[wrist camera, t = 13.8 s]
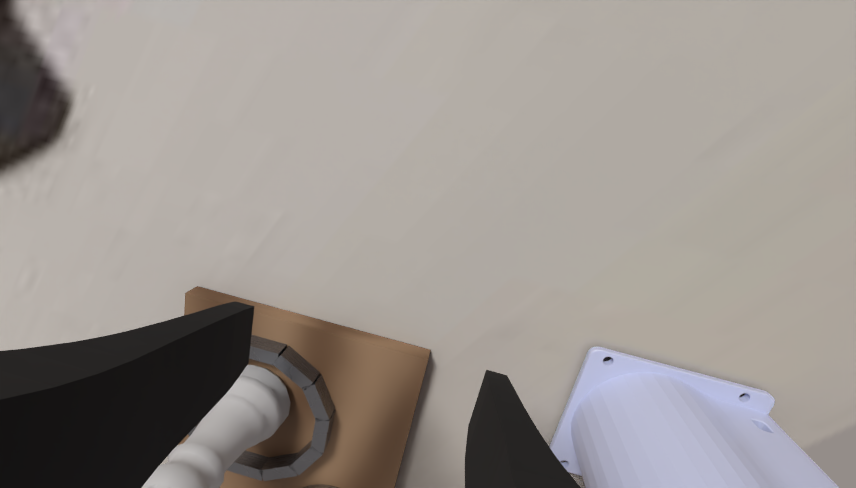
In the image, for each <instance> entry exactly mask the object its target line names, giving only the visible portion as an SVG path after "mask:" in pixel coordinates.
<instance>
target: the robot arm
mask: <svg viewBox="0 0 856 488" xmlns="http://www.w3.org/2000/svg"><path fill="white" fill-rule="evenodd" d="M254 307H255V306H251V305H247V304H244V303H240V302H237V301H235V302H230V303H226V304H222V305H218V306H215V307H211V308H208V309H205V310H201V311H198V312H195V313H191V314H188V315H185V316H181V317H178V318H175V319H171V320H168V321H164V322H161V323H157V324H153V325H149V326H145V327H142V328H138V329H134V330H130V331H126V332H122V333H118V334H113V335H108V336H104V337H98V338H93V339H88V340H83V341H77V342H71V343H63V344H56V345H49V346H42V347H34V348H27V349H18V350H8V351H0V488H142V486H143V485H144V484H145V483H146V481H147V480H148V479H149V477H150V476H151V475H152V474H153V472H154V471H155V470H156V469H157V467H158V466H159V465H160V464H161V463H162V462H163V460H164V459H165V458H166V457H167V456H168V455H169V454H170V452H171V451H172V450H173V449H174V448H175V447H176V446H177V445H178V444H179V443H180V442H181V441H182V440H183V439H184V438H185V437H186V436H187V435H188V434H189V432H190V431H191V430H192V429H193V428H194V427H195V426H196V425H197V424H198V423H199V422H200V421H201V420H202V419H203V418H204V417H205V416H206V415H207V414H208V413H209V411H210V410H211V409H212V408H213V407H214V406H215V405H216V404H217V403H218V402H219V401H220V400H221V399H222V398H223V396H224V395H225V394H226V393H227V392H228V391H229V390H230V388H231V387H232V386H233V384H234V383H235V382H236V380H237V379H238V378H239V376H240V375H241V373H242V372H243V370H244V369H245V368H246V366H247V365H248V363H249V354H250V344H251V335H252V325H253V316H254ZM605 357H611V359H610V360H609V361H603V359H604V358H605ZM743 393H745V395H744V396H742V397H739V396H740V395H741V394H743ZM774 403H775V400H774V398H773V397H772V396H771V395H770V394H769V393H768V392H766V391H764V390H760V389H756V388H753V387H749V386H745V385H741V384H738V383H734V382H730V381H726V380H723V379H719V378H715V377H711V376H708V375H704V374H700V373H696V372H693V371H689V370H685V369H681V368H678V367H674V366H670V365H666V364H663V363H659V362H655V361H651V360H648V359H644V358H640V357H636V356H633V355H629V354H625V353H621V352H618V351H614V350H610V349H606V348H603V347H592V348H591V349H589V351H588V352H587V355H586V357H585V360H584V362H583V365H582V367H581V369H580V372H579V374H578V377H577V379H576V382H575V384H574V387H573V389H572V392H571V394H570V397H569V399H568V402H567V404H566V407H565V409H564V412H563V414H562V417H561V419H560V422H559V424H558V426H557V429H556V431H555V434H554V436H553V439H552V441H551V444H550V446H548V445H547V443H546V442H545V440H544V439H543V437H542V436H541V434H540V433H539V431H538V430H537V428H536V426H535V425H534V423H533V421H532V420H531V418H530V416H529V415H528V413H527V411H526V409H525V408H524V406H523V404H522V402H521V401H520V399H519V397H518V395H517V393H516V391H515V389H514V388H513V386H512V384H511V382H510V380H509V379H508V377H507V375H503V374H500V373H496V372H492V371H489V370H486V373H485V376H484V379H483V382H482V385H481V388H480V392H479V395H478V398H477V401H476V404H475V407H474V410H473V413H472V417H471V420H470V423H469V427H468V435H467V444H466V454H465V488H580V486H579V485H578V484H577V483H576V482H575V480H574V479H573V478H572V477H571V475H570V474H569V473H568V472H570V473H573V474H577V475H580V476H582V477H583V481H584V484H585V488H839V487H838V486H837V485H836V484H835V483H834V482H833V481H832V480H831V479H830V478H829V477H828V476H827V475H826V474H825V472H824V471H822V469H821V468H820V467H819V466H818V465H817V464H816V463H815V462H814V461H813V460H812V459H811V458H810V457H809V456H808V455H807V454H806V453H805V452H804V451H803V450H802V449H801V448H800V447H799V446H798V445H797V444H796V443H795V442H794V441H793V440H792V439H791V438H790V437H789V436H788V435H787V434H786V433H785V431H784V430H783V429H782V428H781V427H780V426H779V425H778V424H777V423H776V422H775V421H774V420H773V419H772V418H771V417H770V416H769V415H768V414H769V412H770V411H771V409H772V407H773V406H774ZM563 460H565V461H566V462H561V461H563Z"/></svg>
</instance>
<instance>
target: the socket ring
mask: <svg viewBox="0 0 856 488" xmlns="http://www.w3.org/2000/svg"><path fill="white" fill-rule="evenodd" d="M249 359H252V360H256V361H259V362H263V363H267V364H270V365H274V366H275V367H276V368H278V369H279V370H280V371H281V372H282V373H284V374H285V375H286V376H287V377H288V378H289V379H291V380H292V381H293V382H294V383H295V384H297V385H298V386H299V387H300V388H301V389H302V390H303V392H304V394H305V397H306V399H307V401H308V404H309V406H310V408H311V410H312V413H313V415H314V417H315V425H314V431H313V437H312V440H311V441H310V442H309V443H308V444H307V445H306V446H304V447H303V448H302V449H301V450H300V451H299V452H298V453H292V454H286V455H280V456H274V457H266V456H263V455H260V454H256V453H253V452H249V451H246V450H245V451H244V452H243V453H242V454H241V455H240V456H239V457H238V458H237V459H236V460H235V461H234V462H233V464H232V465H231V466H230V467H229V468H228V469H227V471H230V472H233V473H237V474H240V475H243V476H247V477H250V478H254V479H257V480H260V481H262V480H264V481H268V480H275V479H282V478H288V477H295V476H298V475H300V474H301V473H303V472H304V471H305V470H306V469H307V468H308V467H309V466H311V465H312V464H313V463H314V462H315V461H316V460H317V459H318V458H320V457H321V456H322V455H323V453H324V451H325V449H326V447H327V445H328V443H329V441H330V436H331V431H332V426H333V421H334V415H335V405H334V403H333V401H332V398H331V396H330V393H329V391H328V389H327V386H326V384H325V381H324V379H323V377H322V374H319V373H320V372H319V371H318V370H317V369H316V368H315V367H314V366H312V365H311V364H310V363H309V362H308V361H307V360H305V359H304V358H303V357H302V356H301V355H300V354H298V353H297V352H296V351H295V350H294V349H293V348H291V347H290V346H288V347H287V344H284V343H280V342H277V341H273V340H270V339H266V338H262V337H259V336H255V335H251V344H250V354H249ZM200 422H201V421H200ZM200 422H199V423H200ZM199 423H198V424H199ZM198 424H197V425H196V426H195V427H194V428H193V429H192V430H191V431H190V432H189V434H188V435H189V437H190V436H191V434H192V433H193V431H194V430H195V429H196V427H197V426H198Z"/></svg>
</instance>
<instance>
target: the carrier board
mask: <svg viewBox="0 0 856 488" xmlns="http://www.w3.org/2000/svg"><path fill="white" fill-rule="evenodd" d="M235 301H237V302H240V303H244V304H247V305H251V306H255V307H254V316H253V325H252V335H255V336H259V337H262V338H266V339H270V340H273V341H277V342H280V343H284V344H287V347H288V346H290V347H291V348H293V349H294V350H295V351H296V352H297V353H298V354H300V355H301V356H302V357H303V358H304V359H305V360H307V361H308V362H309V363H310V364H311V365H312V366H314V367H315V368H316V369H317V370H318V371H319V372H320V373H319V374H322V377H323V379H324V381H325V384H326V386H327V389H328V391H329V393H330V396H331V398H332V401H333V403H334V405H335V415H334V421H333V426H332V431H331V436H330V441H329V443H328V445H327V447H326V449H325V451H324V453H323V455H322V456H321V457H320V458H318V459H317V460H316V461H315V462H314V463H313V464H312V465H311V466H309V467H308V468H307V469H306V470H305V471H304V472H303V473H301V474H300V475H298V476H295V477H288V478H282V479H275V480H268V481H264V480H262V481H260V480H257V479H254V478H250V477H247V476H243V475H240V474H237V473H233V472H230V471H227V470H226V472H225V473H224V482H223V483H222V484H221V486H220V487H219V488H302V487H305V486H309V485H315V484H325V485H331V486H336V487H339V488H394V487H395V483H396V480H397V476H398V472H399V468H400V465H401V461H402V457H403V453H404V449H405V446H406V442H407V438H408V434H409V431H410V427H411V423H412V419H413V415H414V412H415V408H416V404H417V400H418V397H419V393H420V389H421V385H422V382H423V378H424V374H425V370H426V366H427V363H428V359H429V354H430V350H429V349H425V348H421V347H418V346H414V345H410V344H407V343H403V342H399V341H396V340H392V339H388V338H385V337H381V336H377V335H374V334H370V333H366V332H363V331H359V330H355V329H352V328H348V327H345V326H341V325H337V324H334V323H330V322H326V321H323V320H319V319H315V318H312V317H308V316H304V315H301V314H297V313H293V312H290V311H286V310H282V309H279V308H275V307H271V306H268V305H264V304H260V303H257V302H253V301H249V300H246V299H242V298H238V297H235V296H231V295H227V294H224V293H220V292H216V291H213V290H209V289H205V288H202V287H198V286H197V287H195V288H193V289H192V290H190V291H188V292H187V293H185V313H184V316H185V315H188V314H191V313H195V312H198V311H201V310H205V309H208V308H211V307H215V306H218V305H222V304H226V303H230V302H235ZM248 365H257V366H260V367H264V368H267V369H269V370H270V371H272V372H273V373H275V374H276V375H278V376H279V378H280V379H281V380H282V382H283V383H284V384H285V385H286V389H287V392H288V395H289V399H290V402H291V403H290V410H289V415H288V416H287V418H286V419H285V421H284V422H283V423H282V424H281V425H280V426H279V428H278V429H277V430H276V432H275V433H274V434H273V435H272V436H271V437H270V438H268V439H266V440H264V441H262V442H260V443H258V444H256V445H254V446H252V447H250V448H248V449H246V451H249V452H253V453H256V454H260V455H263V456H266V457H274V456H280V455H286V454H292V453H298V452H299V451H300V450H301V449H302V448H303V447H304V446H306V445H307V444H308V443H309V442H310V441H311V440H312V437H313V431H314V425H315V417H314V415H313V413H312V410H311V408H310V406H309V404H308V401H307V399H306V397H305V394H304V392H303V390H302V389H301V388H300V387H299V386H298V385H297V384H295V383H294V382H293V381H292V380H291V379H289V378H288V377H287V376H286V375H285V374H284V373H282V372H281V371H280V370H279V369H278V368H276V367H275V366H274V365H270V364H267V363H263V362H259V361H256V360H252V359H249V363H248ZM188 438H189V435H187V436H186V437H185V438H184V439H183V440H182V441H181V442H180V443H179V444H178V445H180V444H183V443H184V442H185V441H186V440H187V439H188Z"/></svg>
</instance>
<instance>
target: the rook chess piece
mask: <svg viewBox="0 0 856 488" xmlns="http://www.w3.org/2000/svg"><path fill="white" fill-rule="evenodd" d="M290 403H291V402H290V399H289V395H288V392H287V389H286V385H285V384H284V383H283V382H282V380H281V379H280V378H279V376H278V375H276V374H275V373H273V372H272V371H270V370H269V369H267V368H264V367H260V366H257V365H247V366H246V368H245V369H244V370H243V372H242V373H241V375H240V376H239V378H238V379H237V380H236V382H235V383H234V384H233V386H232V387H231V388H230V390H229V391H228V392H227V393H226V394H225V395H224V396H223V398H222V399H221V400H220V401H219V402H218V403H217V404H216V405H215V406H214V407H213V408H212V409H211V410H210V411H209V413H208V414H207V415H206V416H205V417H204V418H203V419H202V420H201V422H200V423H199V424H198V426H197V427H196V429H195V430H194V431H193V433H192V434H191V436H190V437H189V438H188V439H187V440H186V441H185V442H184V443H183V444H180V445H178V446H176V447H175V448H174V449H173V450H172V451H171V452H170V454H169V455H168V462H167V463H165V464H162V465H159V466H158V467H157V469H156V470H155V471H154V472H153V474H152V475H151V476H150V477H149V479H148V480H147V481H146V483H145V484H144V485H143V486H142V488H219V487H220V486H221V484H222V483H223V482H224V473H225V472H226V470H227V469H228V468H229V467H230V466H231V465H232V464H233V462H234V461H235V460H236V459H237V458H238V457H239V456H240V455H241V454H242V453H243V452H244V451H245V450H246V449H248V448H250V447H252V446H254V445H256V444H258V443H260V442H262V441H264V440H266V439H268V438H270V437H271V436H272V435H273V434H274V433H275V432H276V430H277V429H278V428H279V426H280V425H281V424H282V423H283V422H284V421H285V419H286V418H287V416H288V415H289V410H290Z"/></svg>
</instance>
